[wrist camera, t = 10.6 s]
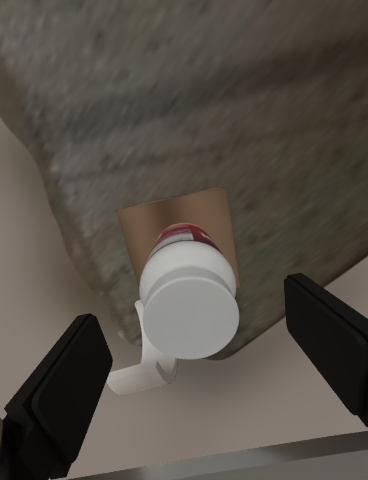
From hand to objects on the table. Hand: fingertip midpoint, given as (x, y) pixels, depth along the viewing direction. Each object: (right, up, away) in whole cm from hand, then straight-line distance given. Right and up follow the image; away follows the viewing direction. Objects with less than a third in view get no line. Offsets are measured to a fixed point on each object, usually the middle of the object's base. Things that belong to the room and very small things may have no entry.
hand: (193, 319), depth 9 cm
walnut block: (-1, +4, +16) cm, 17 cm away
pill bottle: (0, +3, +11) cm, 11 cm away
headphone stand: (-5, -7, +19) cm, 21 cm away
